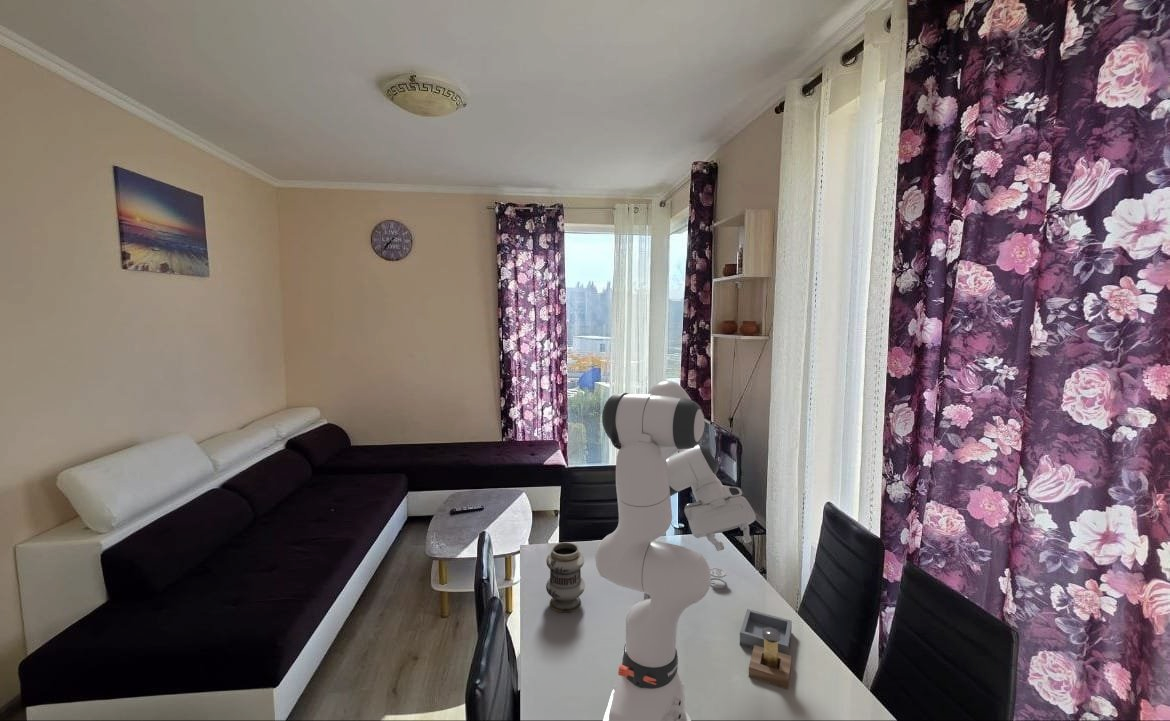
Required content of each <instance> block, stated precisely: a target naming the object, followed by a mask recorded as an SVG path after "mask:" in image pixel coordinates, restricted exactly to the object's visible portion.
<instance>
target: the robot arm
mask: <svg viewBox="0 0 1170 721" xmlns="http://www.w3.org/2000/svg"><path fill="white" fill-rule="evenodd" d="M601 423H602V427H603V430H604V432H605V434H606V435H607V438H609V439H610V442H611V444H612V446H613V447H614V448H616V449H617V450H618V452H617V455H616V461H615V489H616V498H617V509H618V510H617V511H618V524H617V527H616V528H615V530H614V531H613V532H611V533H609V534H607V535H606V536H605V537H604V538H602V540H601V541H600V543H599V544H598V546H597V549H596V551H595V565H596V569H597V571H598V573H599V575H600V577H602V578H604V579H605V580H608V581H609V582H611V583H613V584H615V585H617V586H619V587H623V588H626V589H629V590H634V591H637V592H641V593H646V594H648V595H650V598H651V599H646V600H644V599H643V600H641V601H639V602H636V603H635V604H634V605H632V606H631V607H630V609H629V610H628V612H627V614H626V618H625V644H624V647H623V651H622V652H623V653H622V657H621V658H622V661H621V662H620V665H619V667H618V670H617V673H618V674H617V675H618V677H617V681H616V684H615V686H614V688H613V689H612V690H611V693H610V697H609V699H608V703H607V705H606V709H605V713H604V715H603V718H602V721H692V718H691V717H690V715H689V714H688V713H687V712H686V705H685V704H686V703H685V685H684V683H683V680H682V679H681V677H680V675H679V673H678V667H679V666H678V664H679V656H678V650H677V648H676V647H677V645H676V644H677V640H676V639H677V628H678V623H679V619H680V618H681V616H682V614H683V613H684V612H685V610H686V609H688V608H689V607H691V606H692V605H694V604H697V603H699V602H700V601H702V600H703V598H705V597H706V595H707V593H708V591H709V590H710V587H711V586H710V582H711V579H712V576H711V573H710V569H711V568H710V565H709V563H708V561H707V560H706V557H705V556H704V555H703V554H700V553H699V552H696V551H695V550H692V549H689V548H687V547H685V546H682V545H678V544H672V543H669V542H664V541H660V540H656V539H659V538H660V537H662V536H663V535H664V534H666V532H667V531H668V530H669V528H670V527H671V525H672V521H673V514H672V513H673V512H672V502H671V501H672V500H671V496H675V494H678V493H679V492H682V491H683V490H686V489H688V488H690V487H691V488H690V489H691V490H692V491H691V492H692V495H693V497H694V499H695V501H694V502H692V503H687V504H686V505H685V507H684V509H683V512H684V514H685V517H686V519H687V521H688V525H689V526H688V527H689V529H690V531H691V534H692V536H693V537H695V538H696V539H700V538H703V537H704V538H705V537H706V538H707V541H709V542H710V543H711V544H712V545H713V546H714V548H715V549H716V551H717V552H721V551H723V550H724V549H725V546H724V544H723V541H718V540H719V539H717V538H716V534H719V533H723V532H726V531H730V530H734V529H737V528H739V529H740V531H743V532H742V533H743V534H742V535H743V536H742V537H741V539H742V540H743V543H744V544H748V543H750V542H752V537H751V535H750V526H749V525H751V524H753V523H754V522H755V521H756V519H757V518H756V517H757V515H756V513H755V511H754V509H753V507H752V506H751V504H750V502H749V501H748V500H747V499H746V497H744V496H742V495H743V491H742V488H740V487H738V486H737V487H736V486H729V485H723V483H722V482H721V480H720V479H719V478H718V477H717V473H718V470H719V467H720V465H719V463H718V462H717V460H716V459H715V457H714V455H713V451H712V449H711V448H710V447H708V446H705V445H702V444H699V443H700V442H701V440H702V437H703V434H704V431H705V416H704V411H703V408H702V407H701V406H700V405H699V403H697V402H696V401H694V400H692V399H691V397H690V396H689V394H688V393H687V392H686V390H685V389H684V388H683V387H682V386H681V385H680V384H678V383H676V382H674V381H670V380H668V381H667V380H665V381H660V382H658V383H656V384H654V385H653V386H651V388H650V389H649V391H648V392H647V393H628V392H622V393H616V394H612V395H611V396H609V398H608V399H607V400H606V402H605V404H604V406H603V409H602V415H601Z"/></svg>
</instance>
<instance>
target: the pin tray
mask: <svg viewBox="0 0 1170 721" xmlns="http://www.w3.org/2000/svg"><path fill="white" fill-rule="evenodd" d="M792 622H793V621H792V620H790V619H787V618H783V617H779V616H776V615H772V614H767V613H764V612H761V611H757V610H753V609H749V608H747V609H746V612H745V615H744V619H743V622H742V625H741V628H740V631H739V645H740V646H742V645H743V647H747V648H749V649H752V650H753V648H754V645H756V646H760V647H763V648H764V638H763V636H762V630H763V629H764V628H766V627H770V628H774V629H776V630H778V631H779V632H780V640H779V641H778V652H780V653H783V654H786V655H789V653H790V645H791V637H792V626H793V625H792V624H793V623H792Z"/></svg>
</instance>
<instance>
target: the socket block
mask: <svg viewBox="0 0 1170 721" xmlns="http://www.w3.org/2000/svg"><path fill="white" fill-rule="evenodd" d="M792 657H793V656H792V655H789V654H788V655H786V654H783V653H780V652H778V659H777V669H775V668H771V667H768V666H765V665H764V648H763V647H760V646H756V645H754V648H753V649H752V652H751V656H750V661H749V665H748V677H750V678H752V679H756V680H758V681H761V682H765V683H767V684H770V685H774V686H777V687H780V688H783V689H785V690H789V686H790V677H791V669H792Z"/></svg>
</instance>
